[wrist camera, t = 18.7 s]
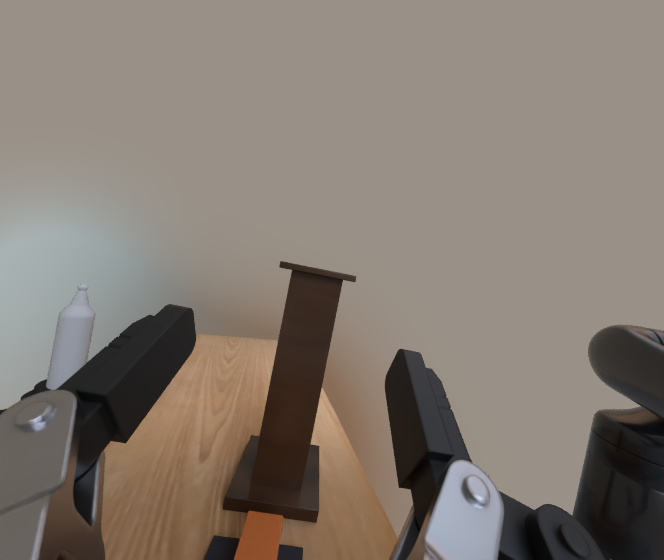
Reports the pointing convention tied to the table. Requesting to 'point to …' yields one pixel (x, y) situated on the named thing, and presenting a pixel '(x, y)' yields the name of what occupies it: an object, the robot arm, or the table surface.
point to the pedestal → (291, 404)
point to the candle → (69, 342)
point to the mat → (225, 547)
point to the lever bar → (260, 537)
